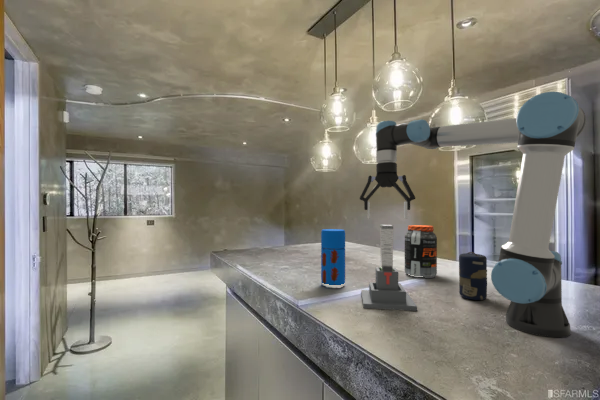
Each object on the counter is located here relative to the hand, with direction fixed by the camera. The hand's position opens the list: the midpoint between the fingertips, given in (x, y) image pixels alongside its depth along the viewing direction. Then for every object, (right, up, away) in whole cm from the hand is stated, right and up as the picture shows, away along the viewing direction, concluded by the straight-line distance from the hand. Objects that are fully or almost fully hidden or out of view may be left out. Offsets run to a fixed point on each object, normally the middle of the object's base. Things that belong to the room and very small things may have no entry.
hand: (387, 219), depth 115 cm
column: (0, -24, 0) cm, 24 cm away
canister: (+35, -31, +4) cm, 47 cm away
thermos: (-18, -32, +22) cm, 43 cm away
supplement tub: (+30, -32, +43) cm, 62 cm away
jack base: (0, -31, -1) cm, 31 cm away
